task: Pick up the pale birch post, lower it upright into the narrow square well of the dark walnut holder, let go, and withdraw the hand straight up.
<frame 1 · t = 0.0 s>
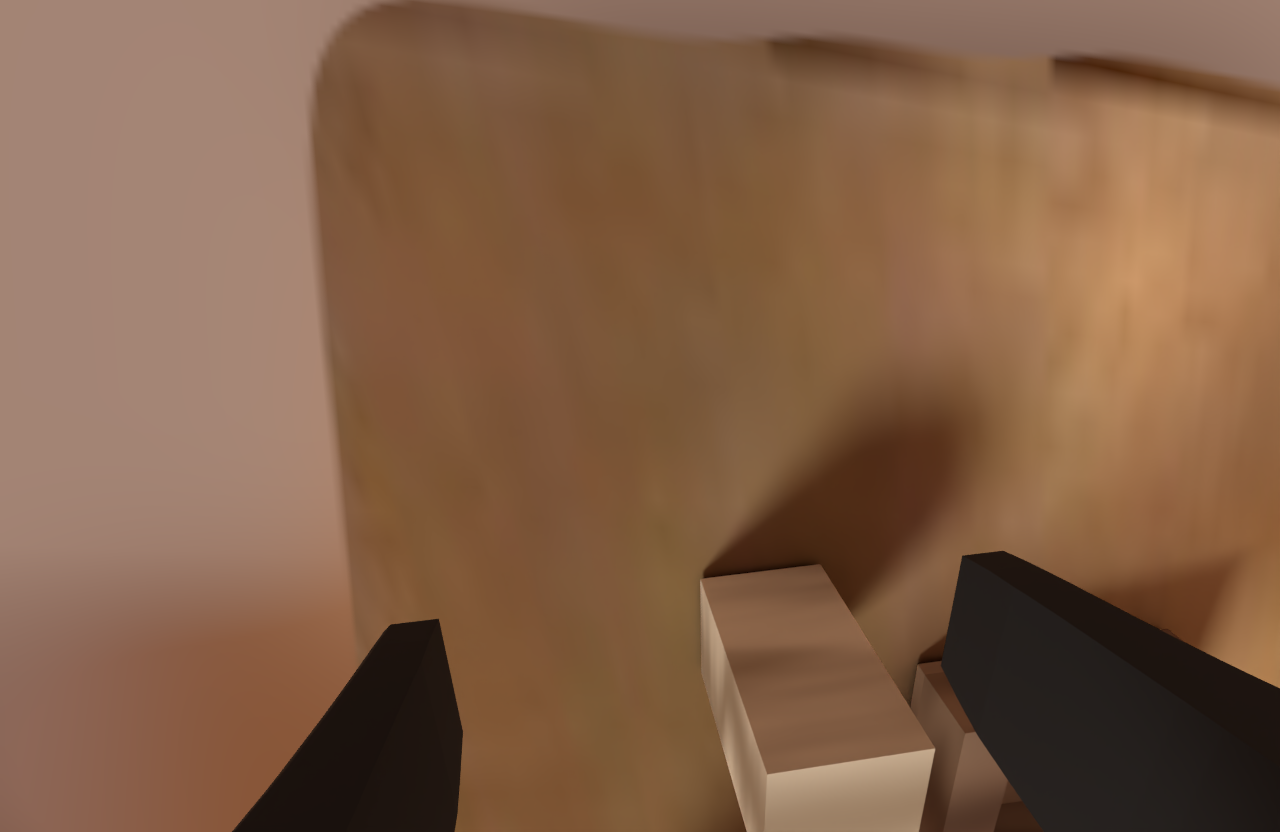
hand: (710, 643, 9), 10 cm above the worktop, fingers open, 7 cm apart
walnut holder: (1019, 741, 27), on the worktop
birch post: (759, 619, 22), on the worktop
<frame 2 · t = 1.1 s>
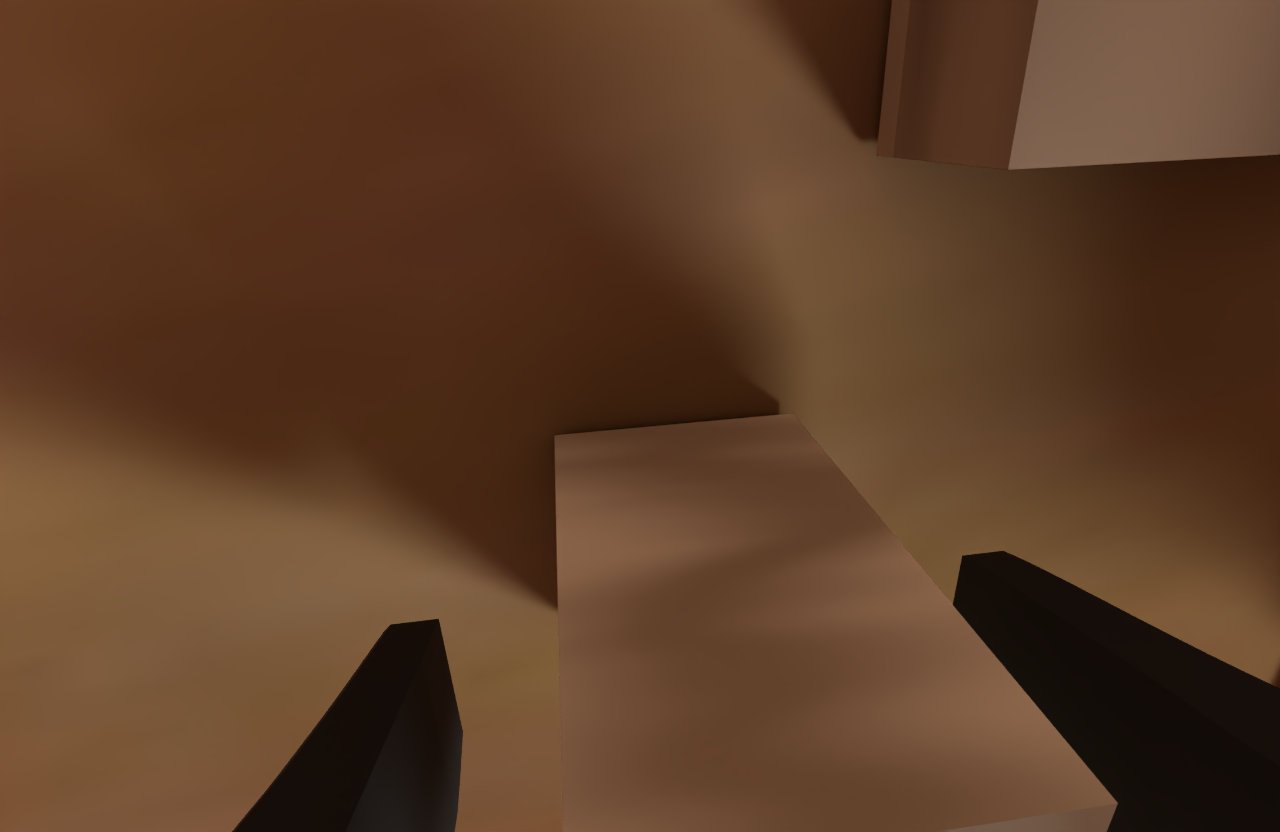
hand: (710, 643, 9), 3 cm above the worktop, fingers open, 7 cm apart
birch post: (677, 525, 12), on the worktop
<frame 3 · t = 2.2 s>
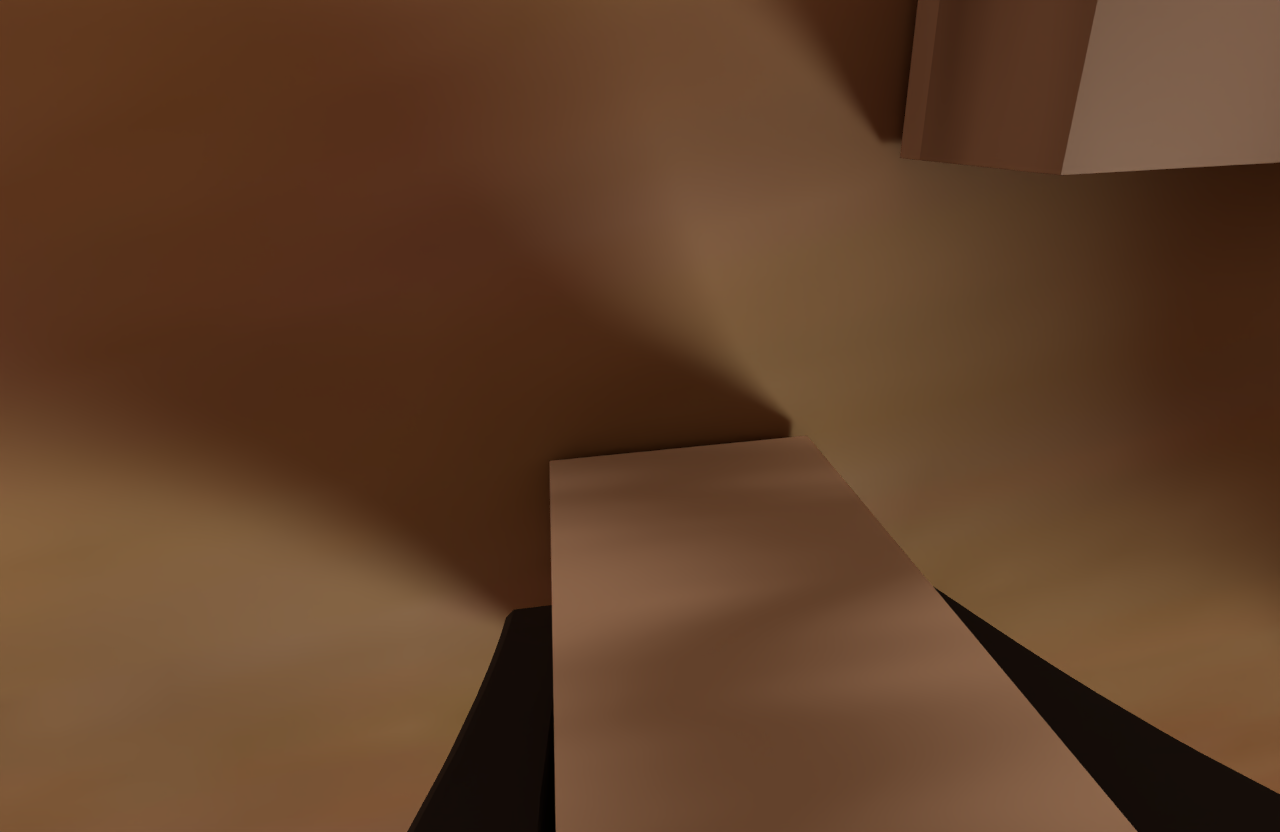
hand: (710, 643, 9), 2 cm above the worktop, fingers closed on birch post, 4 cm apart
birch post: (682, 555, 11), on the worktop, touching gripper
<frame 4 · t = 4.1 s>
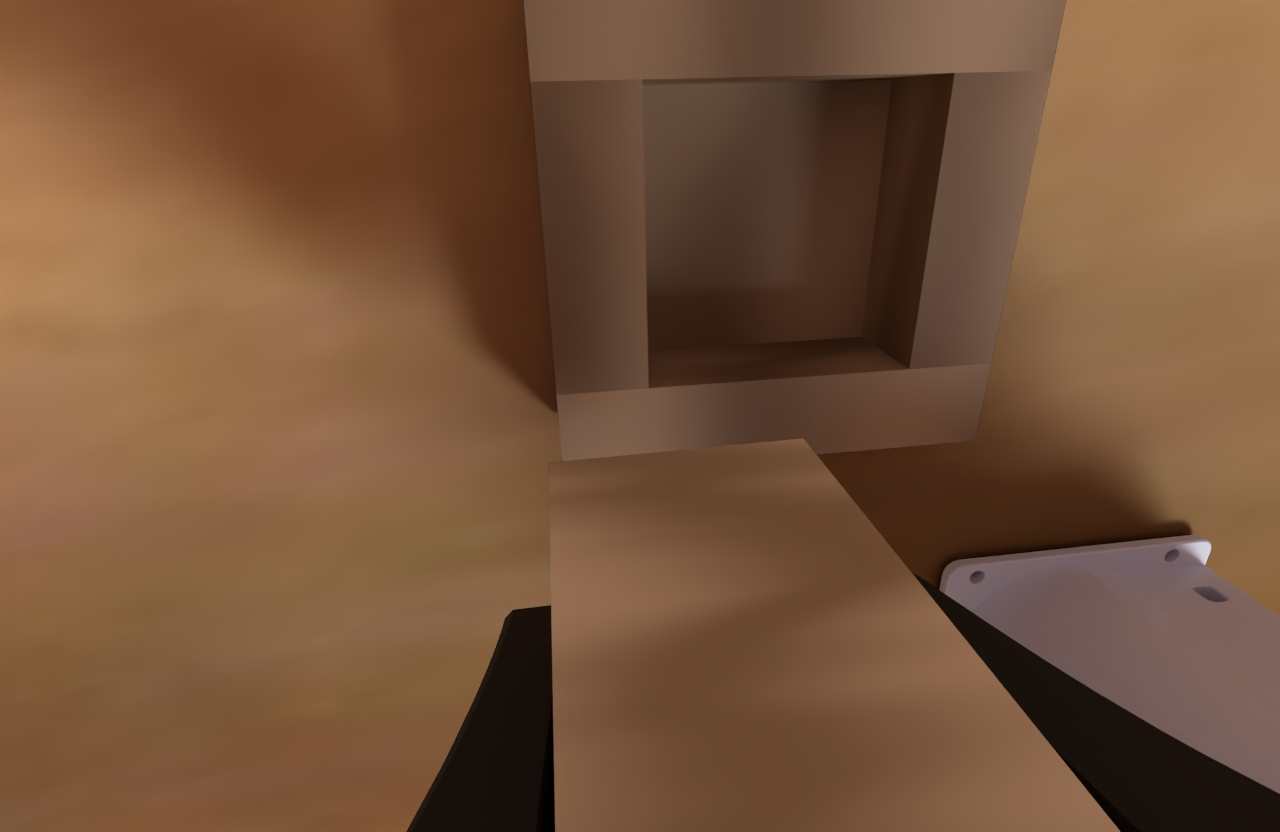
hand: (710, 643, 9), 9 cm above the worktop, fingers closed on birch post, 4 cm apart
walnut holder: (749, 220, 16), on the worktop
birch post: (679, 556, 11), point 7 cm above the worktop, touching gripper
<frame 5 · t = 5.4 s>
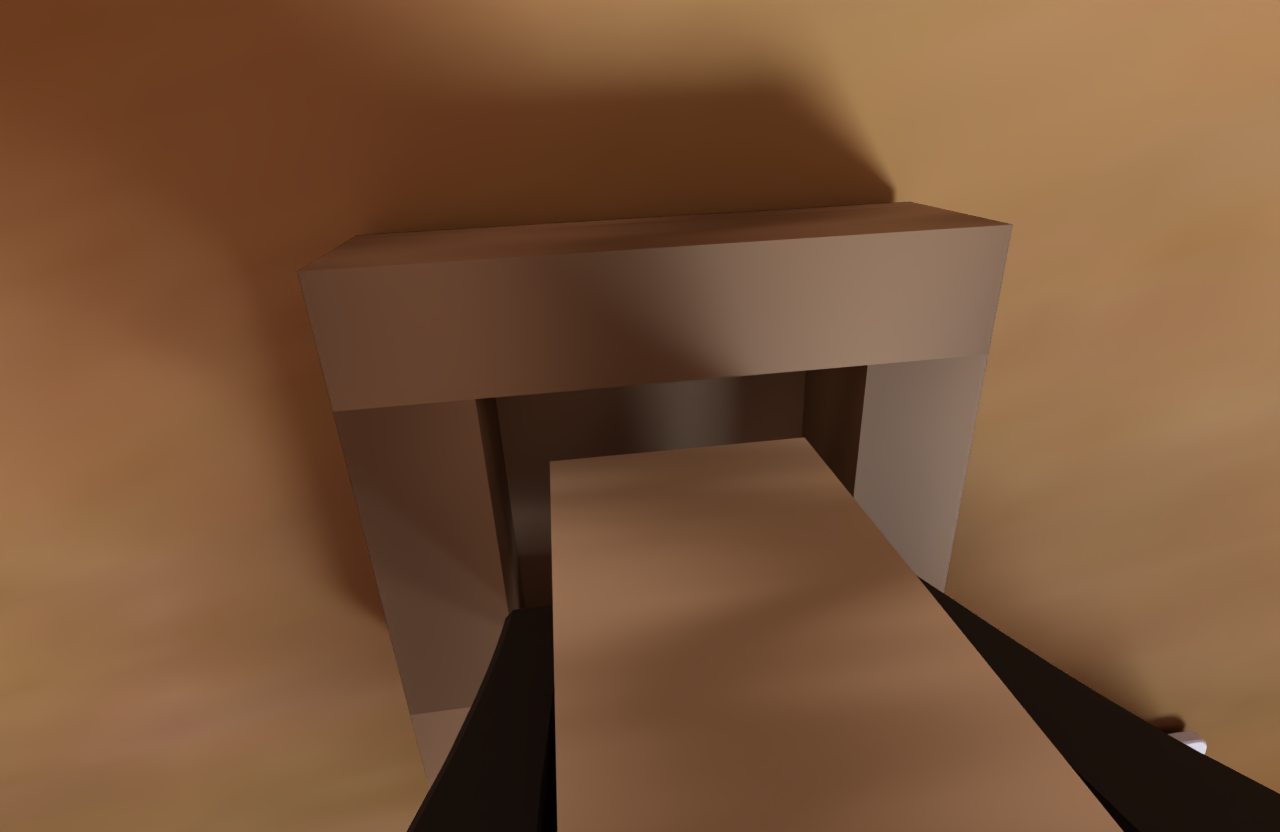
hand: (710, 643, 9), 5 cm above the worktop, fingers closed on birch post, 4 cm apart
walnut holder: (654, 463, 14), on the worktop
birch post: (680, 555, 11), point 3 cm above the worktop, touching gripper
when the fingers open (4 cm above the worktop, at t = 6.2 s): birch post drops 1 cm, resting on walnut holder.
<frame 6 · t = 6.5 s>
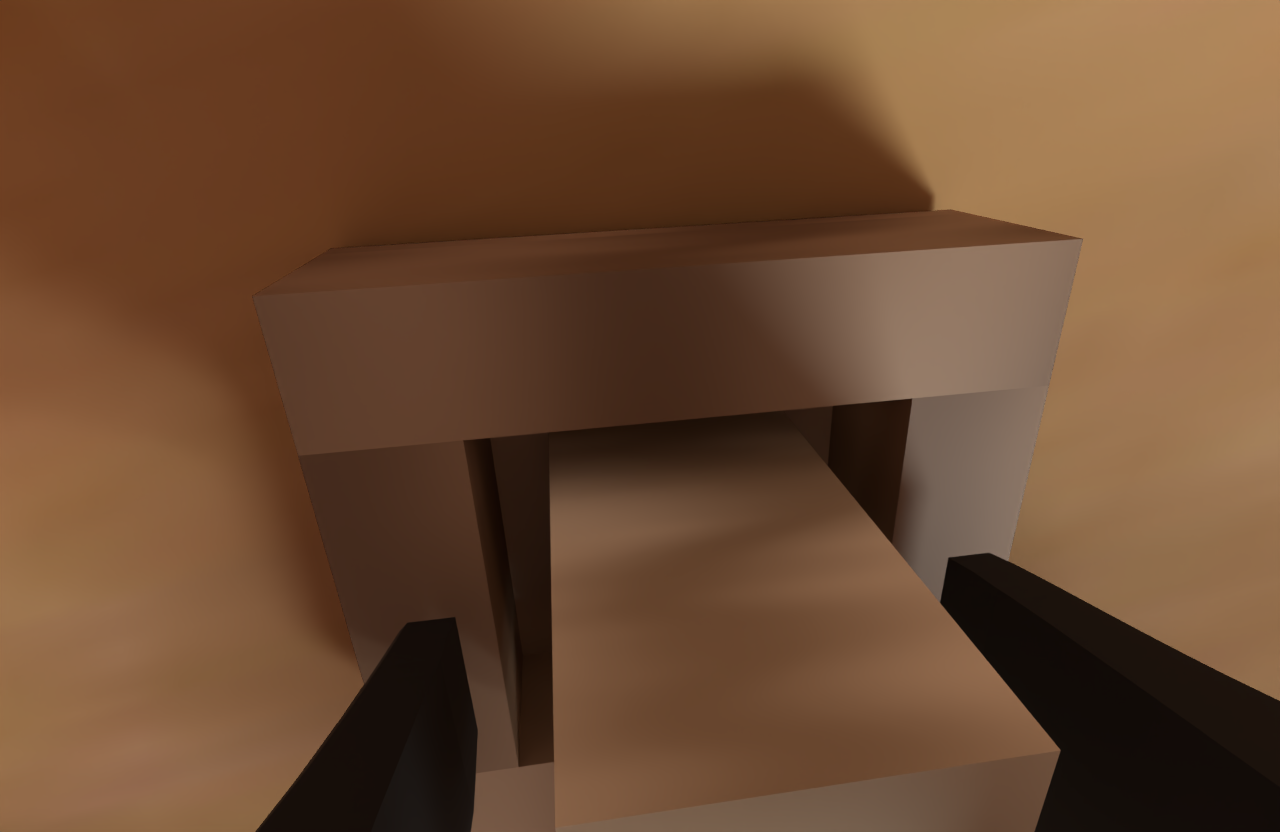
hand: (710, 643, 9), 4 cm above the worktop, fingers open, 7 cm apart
walnut holder: (664, 496, 13), on the worktop
birch post: (667, 514, 12), resting on walnut holder
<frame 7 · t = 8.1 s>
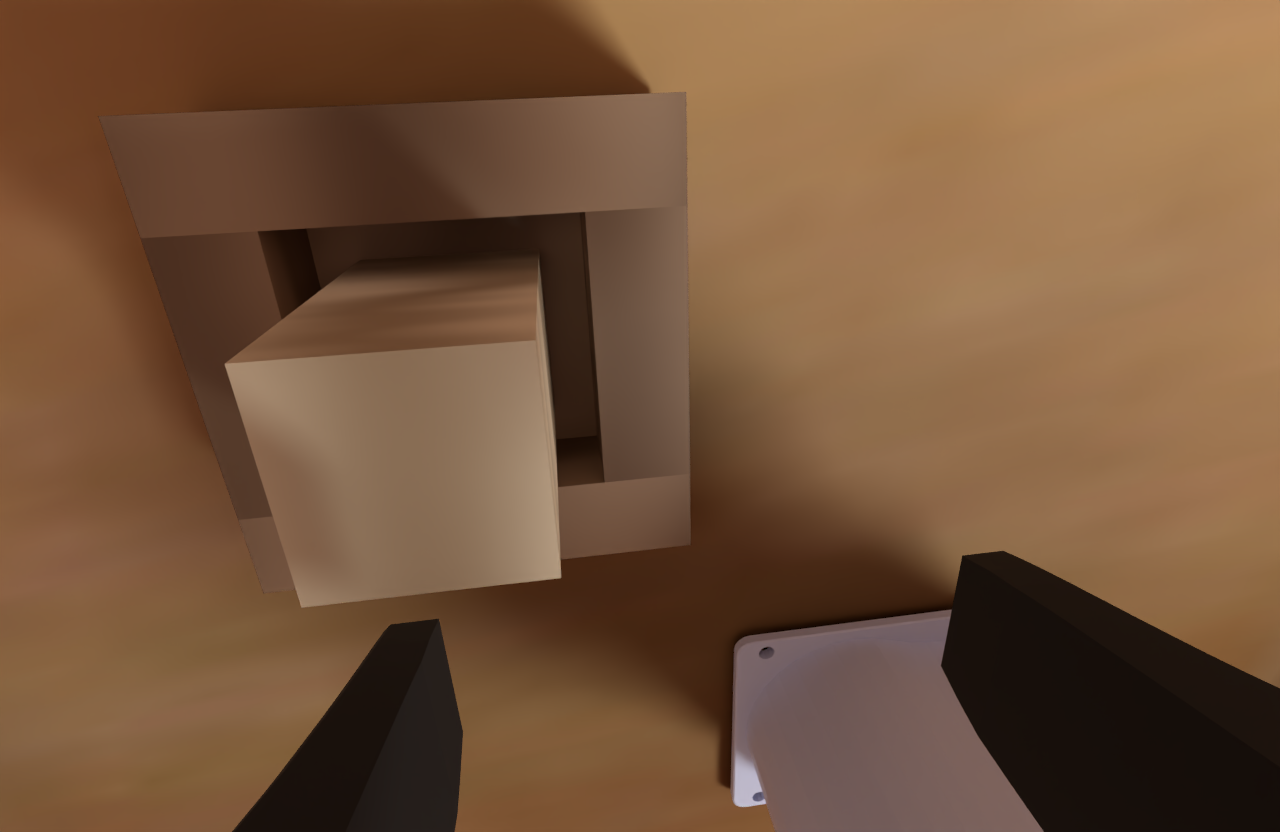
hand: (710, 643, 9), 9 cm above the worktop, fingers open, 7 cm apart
walnut holder: (466, 329, 16), on the worktop
birch post: (463, 338, 16), resting on walnut holder
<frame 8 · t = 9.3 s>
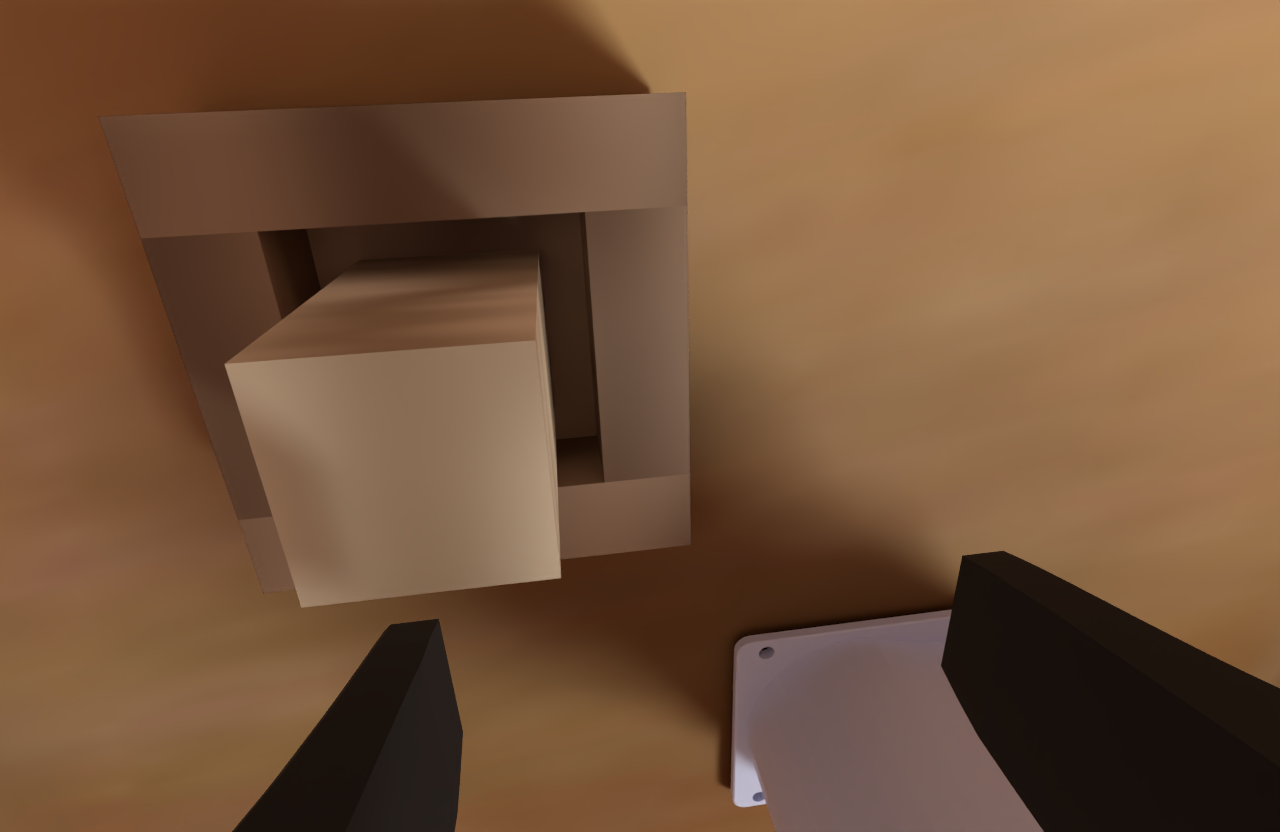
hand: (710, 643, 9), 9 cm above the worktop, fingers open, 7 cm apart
walnut holder: (466, 329, 16), on the worktop
birch post: (463, 338, 16), resting on walnut holder
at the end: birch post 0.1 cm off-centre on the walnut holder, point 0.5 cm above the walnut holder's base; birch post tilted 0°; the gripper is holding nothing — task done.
